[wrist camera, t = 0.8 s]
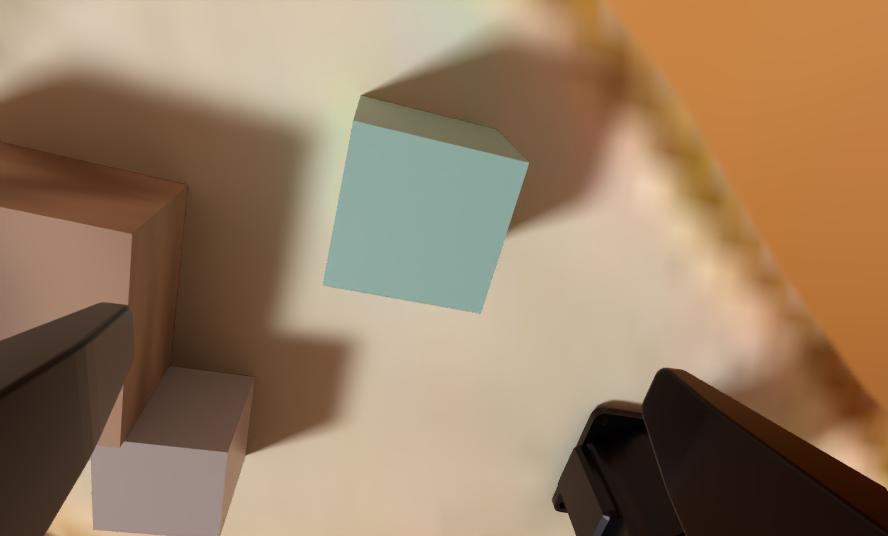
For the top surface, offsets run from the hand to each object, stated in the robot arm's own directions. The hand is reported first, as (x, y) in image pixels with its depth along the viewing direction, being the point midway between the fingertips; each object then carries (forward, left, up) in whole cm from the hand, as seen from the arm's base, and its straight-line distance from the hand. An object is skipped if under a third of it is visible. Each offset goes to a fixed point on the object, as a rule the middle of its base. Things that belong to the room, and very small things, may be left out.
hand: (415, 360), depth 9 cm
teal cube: (-1, 0, -12) cm, 12 cm away
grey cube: (+6, +12, -12) cm, 18 cm away
